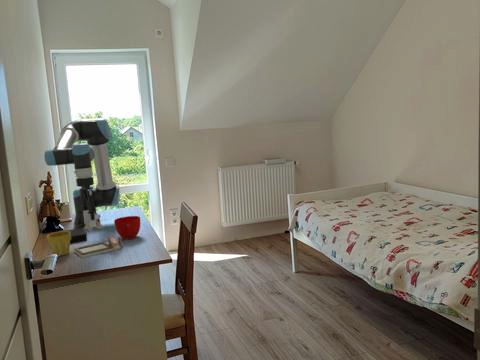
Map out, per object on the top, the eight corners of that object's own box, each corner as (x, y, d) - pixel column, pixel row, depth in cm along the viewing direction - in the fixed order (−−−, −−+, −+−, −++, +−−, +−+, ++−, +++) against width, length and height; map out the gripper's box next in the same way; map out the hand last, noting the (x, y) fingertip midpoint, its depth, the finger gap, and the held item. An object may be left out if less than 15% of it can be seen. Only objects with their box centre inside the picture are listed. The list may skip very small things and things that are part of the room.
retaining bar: (107, 240, 215) (106, 236, 215) (114, 239, 217) (113, 235, 216) (112, 247, 202) (111, 243, 202) (119, 246, 204) (119, 242, 203)
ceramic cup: (116, 244, 219) (114, 224, 217) (116, 236, 235) (114, 218, 234) (143, 240, 222) (141, 221, 221) (141, 233, 238) (139, 214, 237)
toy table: (92, 225, 216) (91, 214, 215) (108, 226, 213) (106, 214, 212) (79, 231, 206) (77, 219, 206) (95, 231, 203) (93, 219, 203)
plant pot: (49, 259, 203) (46, 238, 201) (49, 253, 212) (46, 233, 211) (73, 254, 207) (71, 234, 205) (72, 249, 216) (69, 229, 215)
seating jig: (74, 251, 211) (72, 240, 211) (113, 243, 222) (112, 232, 221) (81, 257, 201) (80, 245, 200) (122, 248, 211) (121, 236, 211)
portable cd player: (53, 239, 241) (52, 232, 240) (86, 234, 247) (85, 227, 246) (51, 247, 225) (50, 239, 225) (87, 241, 231) (86, 233, 231)
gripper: (70, 176, 212) (76, 223, 215) (82, 179, 195) (88, 230, 198) (86, 174, 216) (92, 220, 219) (99, 177, 199) (105, 227, 202)
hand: (90, 225), depth 208 cm, fingers closed on toy table, 8 cm apart
